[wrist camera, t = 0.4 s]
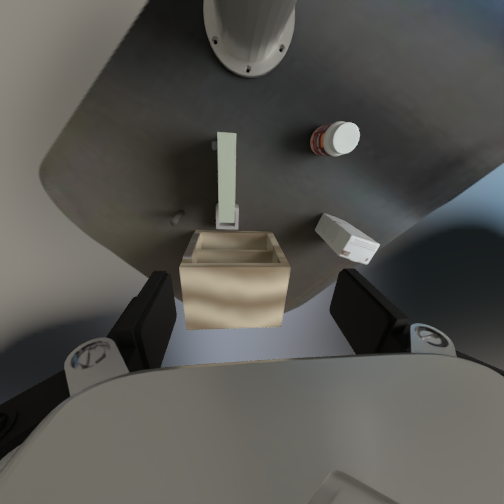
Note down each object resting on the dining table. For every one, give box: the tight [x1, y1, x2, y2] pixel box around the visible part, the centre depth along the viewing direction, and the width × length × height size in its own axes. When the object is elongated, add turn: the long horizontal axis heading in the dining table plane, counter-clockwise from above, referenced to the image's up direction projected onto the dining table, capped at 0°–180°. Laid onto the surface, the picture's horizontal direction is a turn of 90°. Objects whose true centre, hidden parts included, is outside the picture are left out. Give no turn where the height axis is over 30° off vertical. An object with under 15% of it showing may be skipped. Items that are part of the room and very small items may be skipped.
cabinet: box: [170, 210, 291, 330], centre depth 37 cm, size 16×19×15 cm
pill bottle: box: [310, 121, 360, 156], centre depth 33 cm, size 5×5×8 cm
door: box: [212, 132, 239, 229], centre depth 34 cm, size 16×4×10 cm, turn 177°
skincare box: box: [315, 213, 380, 265], centre depth 39 cm, size 6×4×12 cm
